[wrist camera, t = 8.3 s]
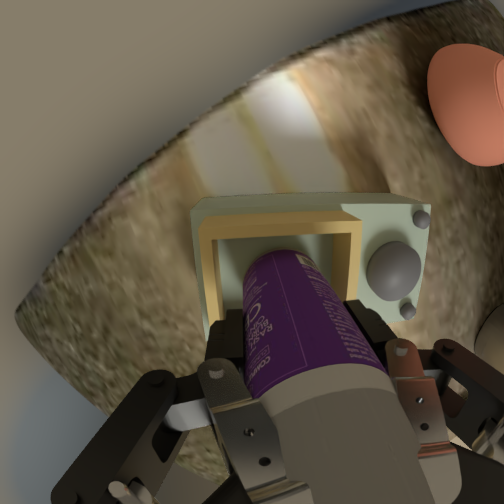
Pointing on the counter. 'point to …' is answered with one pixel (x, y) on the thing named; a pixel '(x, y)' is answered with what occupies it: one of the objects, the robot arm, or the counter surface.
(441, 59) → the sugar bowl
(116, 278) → the counter surface
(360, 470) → the container
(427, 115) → the counter surface
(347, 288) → the grey-green box with tray
